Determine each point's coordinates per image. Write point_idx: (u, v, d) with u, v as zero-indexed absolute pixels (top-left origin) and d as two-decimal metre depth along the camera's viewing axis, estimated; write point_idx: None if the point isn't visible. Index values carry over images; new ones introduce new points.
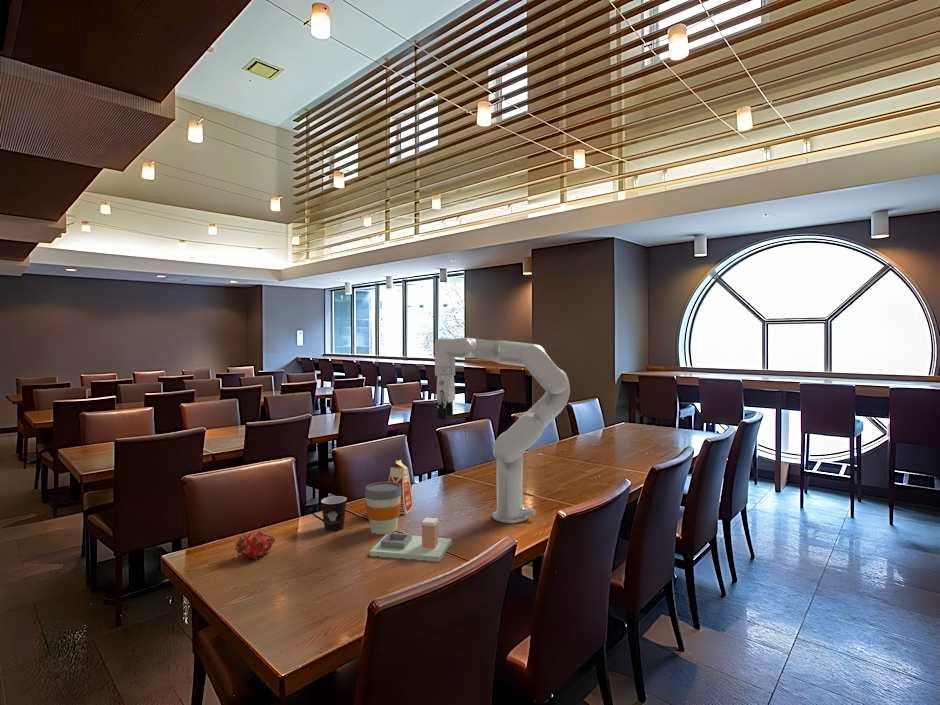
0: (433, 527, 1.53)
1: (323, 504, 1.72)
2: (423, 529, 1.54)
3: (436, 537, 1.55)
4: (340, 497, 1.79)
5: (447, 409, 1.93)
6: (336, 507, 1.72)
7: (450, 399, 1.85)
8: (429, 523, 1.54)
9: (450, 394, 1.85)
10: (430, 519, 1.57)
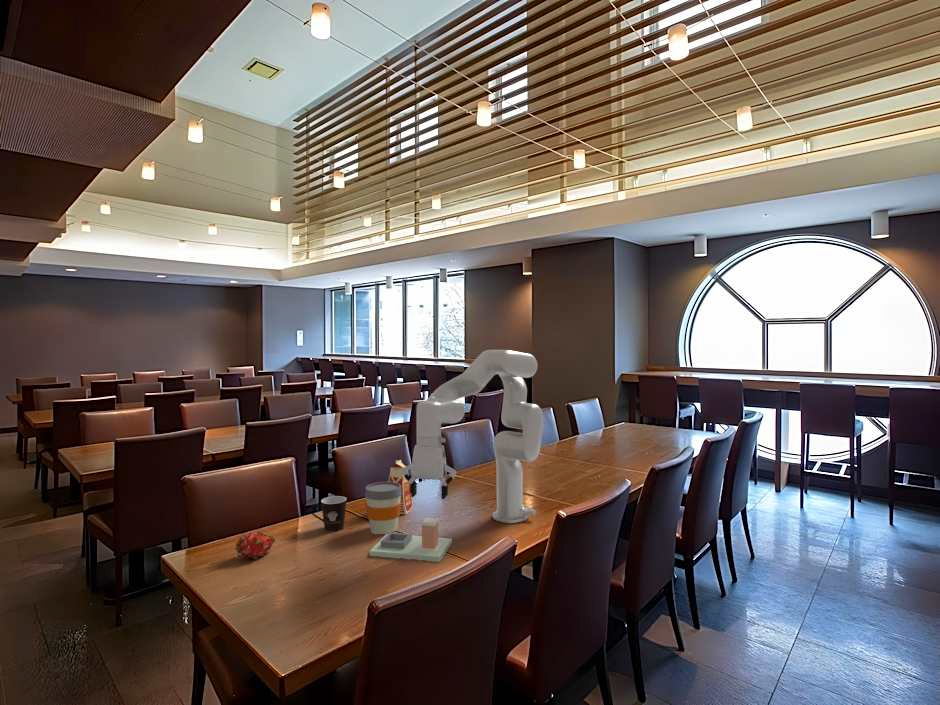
0: (433, 527, 1.53)
1: (323, 504, 1.72)
2: (423, 529, 1.54)
3: (436, 537, 1.55)
4: (340, 497, 1.79)
5: (414, 488, 1.56)
6: (336, 507, 1.72)
7: None
8: (429, 523, 1.54)
9: None
10: (430, 519, 1.57)
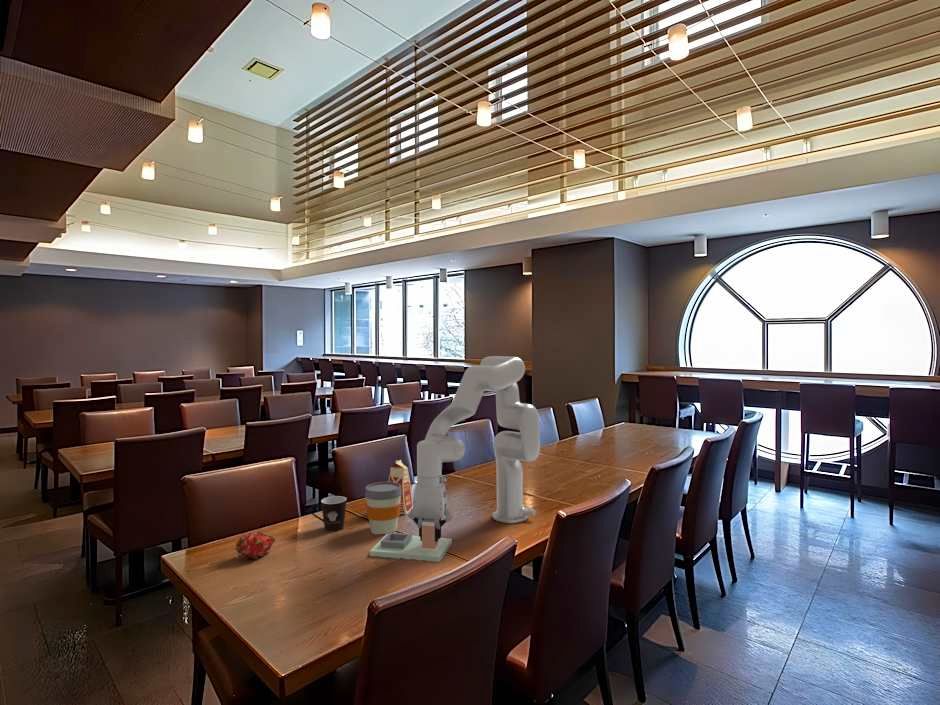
0: (433, 527, 1.53)
1: (323, 504, 1.72)
2: (423, 529, 1.54)
3: None
4: (340, 497, 1.79)
5: None
6: (336, 507, 1.72)
7: None
8: (429, 523, 1.54)
9: None
10: (430, 519, 1.56)
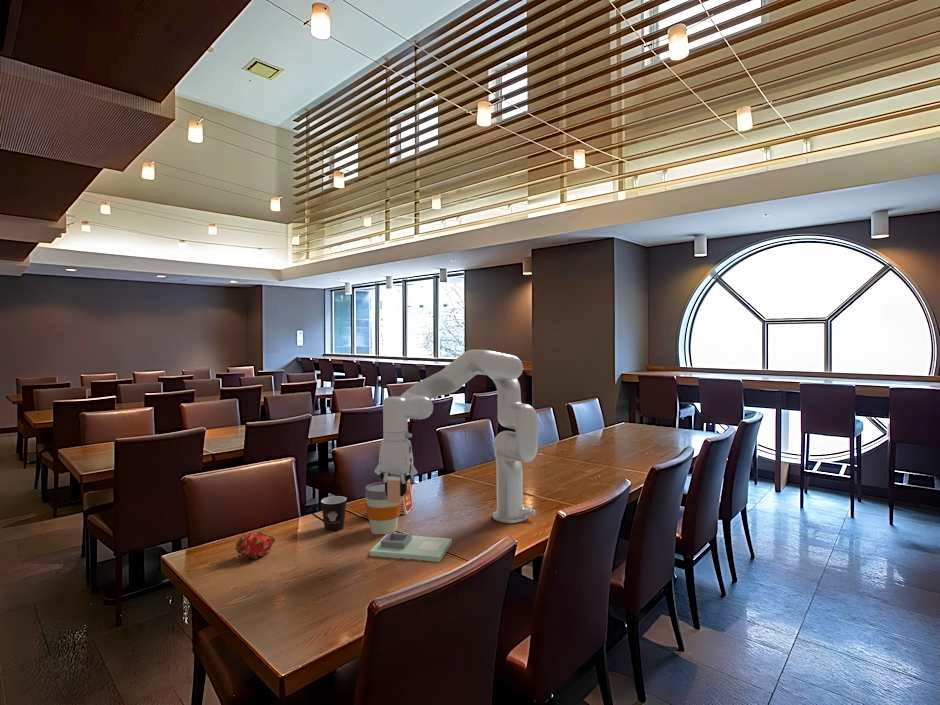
0: (398, 482, 1.55)
1: (323, 504, 1.72)
2: (388, 484, 1.56)
3: None
4: (340, 497, 1.79)
5: None
6: (336, 507, 1.72)
7: None
8: (394, 478, 1.56)
9: None
10: (396, 474, 1.58)
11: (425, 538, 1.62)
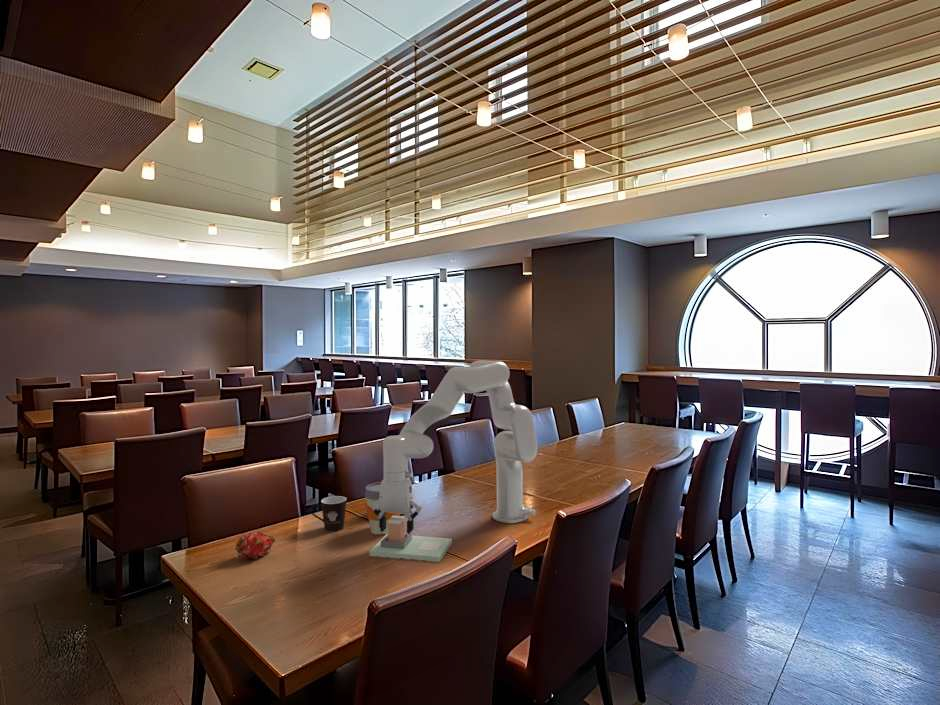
0: (399, 525, 1.56)
1: (323, 504, 1.72)
2: (389, 527, 1.56)
3: (402, 535, 1.58)
4: (340, 497, 1.79)
5: (384, 523, 1.59)
6: (336, 507, 1.72)
7: None
8: (395, 521, 1.56)
9: None
10: (397, 517, 1.59)
11: (425, 538, 1.62)
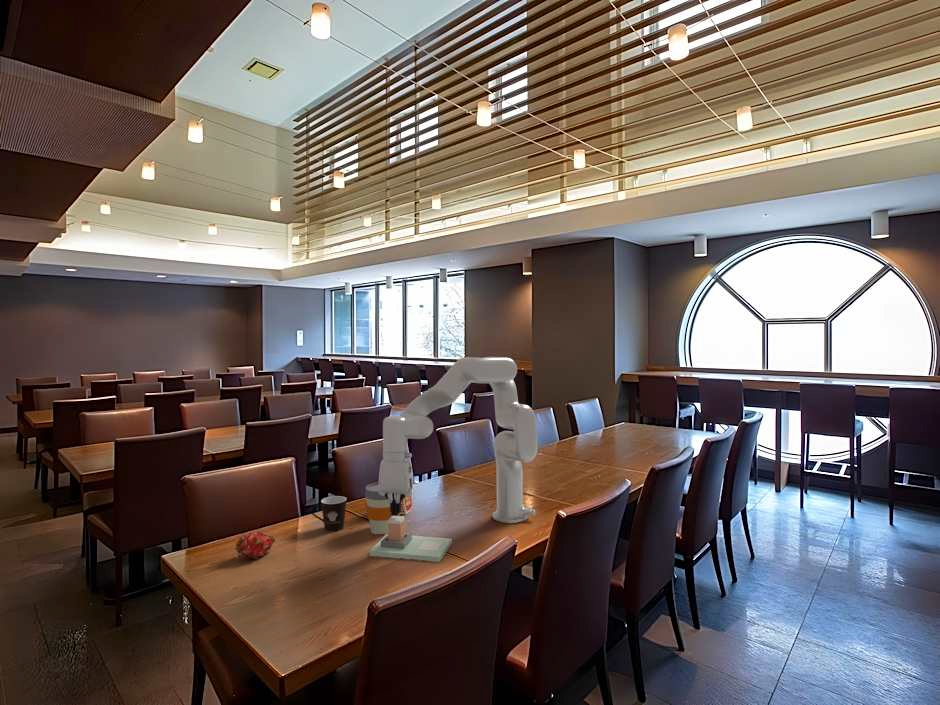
0: (399, 525, 1.56)
1: (323, 504, 1.72)
2: (389, 527, 1.56)
3: (402, 535, 1.58)
4: (340, 497, 1.79)
5: None
6: (336, 507, 1.72)
7: None
8: (395, 521, 1.56)
9: None
10: (397, 517, 1.59)
11: (425, 538, 1.62)
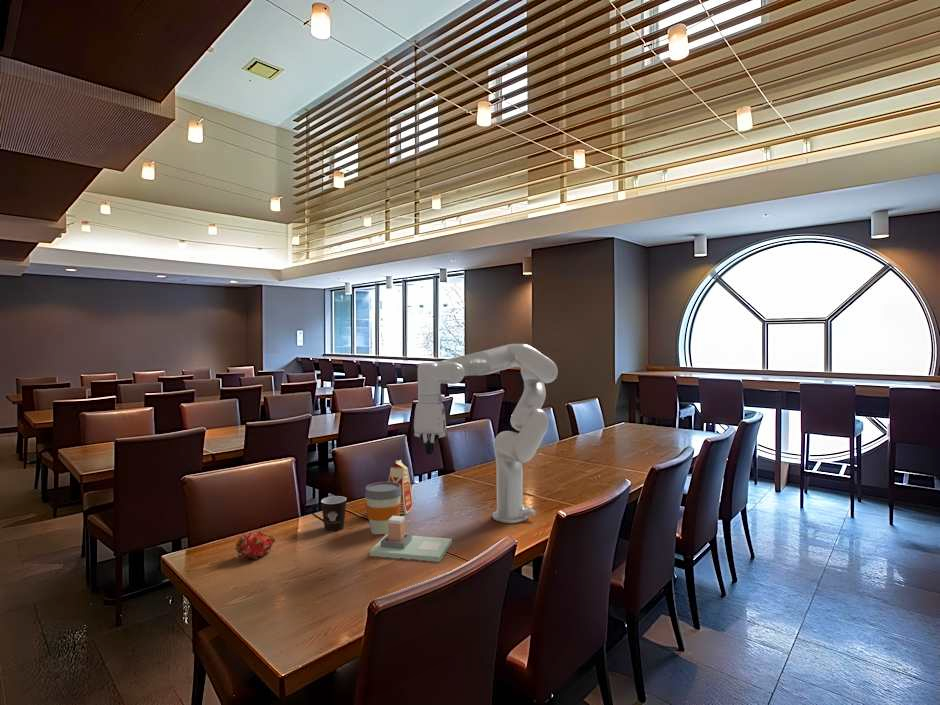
0: (399, 525, 1.56)
1: (323, 504, 1.72)
2: (389, 527, 1.56)
3: (402, 535, 1.58)
4: (340, 497, 1.79)
5: None
6: (336, 507, 1.72)
7: None
8: (395, 521, 1.56)
9: None
10: (397, 517, 1.59)
11: (425, 538, 1.62)
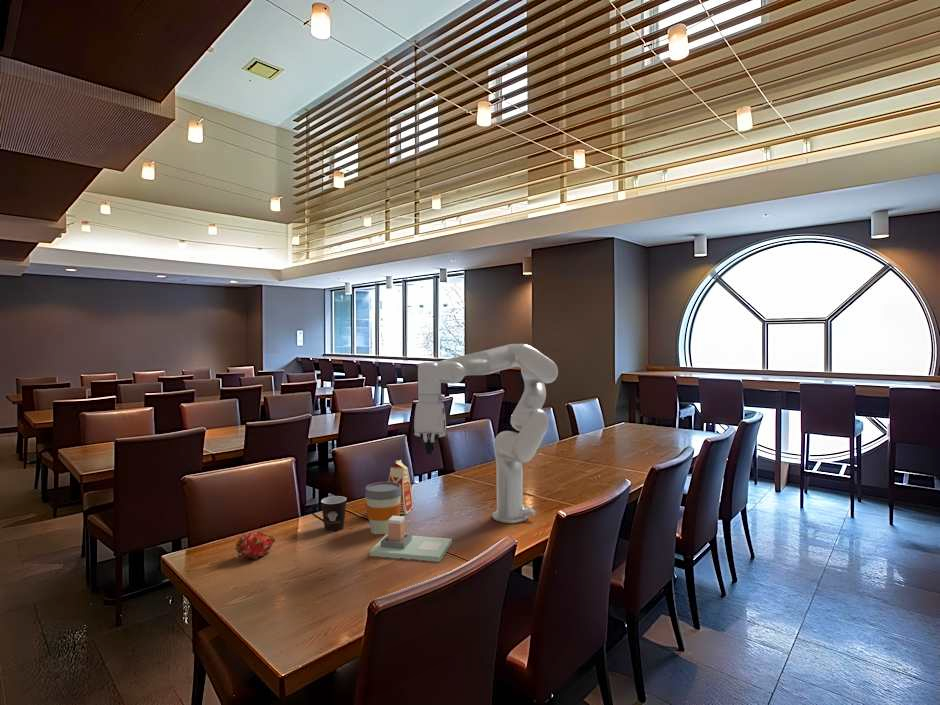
0: (399, 525, 1.56)
1: (323, 504, 1.72)
2: (389, 527, 1.56)
3: (402, 535, 1.58)
4: (340, 497, 1.79)
5: None
6: (336, 507, 1.72)
7: None
8: (395, 521, 1.56)
9: None
10: (397, 517, 1.59)
11: (425, 538, 1.62)
